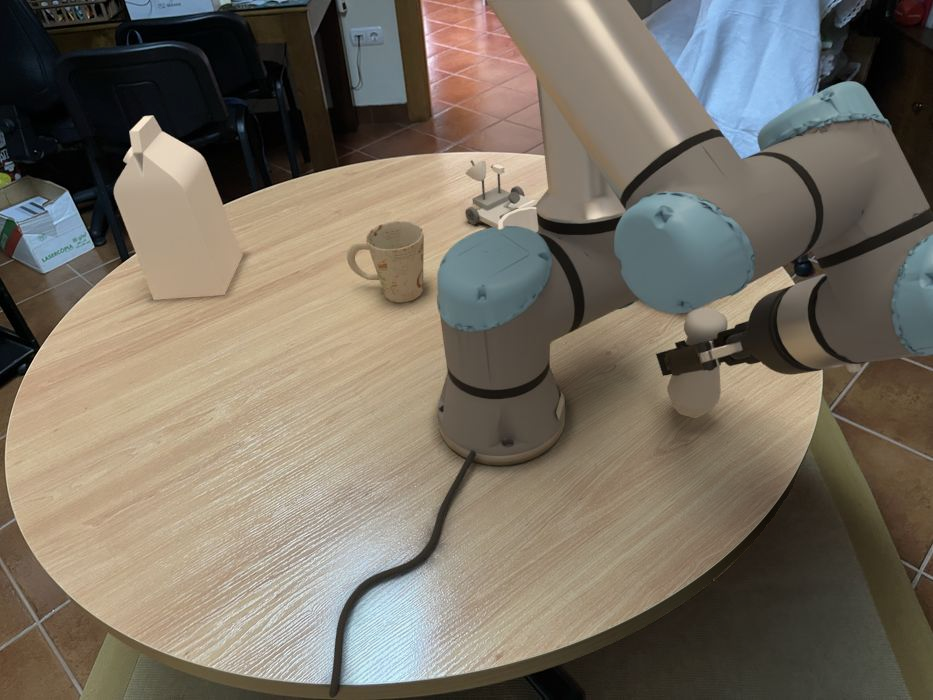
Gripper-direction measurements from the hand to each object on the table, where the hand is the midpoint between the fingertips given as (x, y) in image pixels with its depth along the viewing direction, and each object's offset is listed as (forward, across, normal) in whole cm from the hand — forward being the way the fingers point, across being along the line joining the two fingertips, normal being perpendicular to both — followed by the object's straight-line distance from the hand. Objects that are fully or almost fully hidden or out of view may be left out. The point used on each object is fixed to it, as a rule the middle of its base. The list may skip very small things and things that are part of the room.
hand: (676, 359), depth 80 cm
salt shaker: (0, 0, -6) cm, 6 cm away
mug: (+31, -25, +22) cm, 46 cm away
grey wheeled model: (+39, 0, +30) cm, 50 cm away
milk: (+45, -53, +35) cm, 78 cm away
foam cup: (+23, -7, +14) cm, 27 cm away
